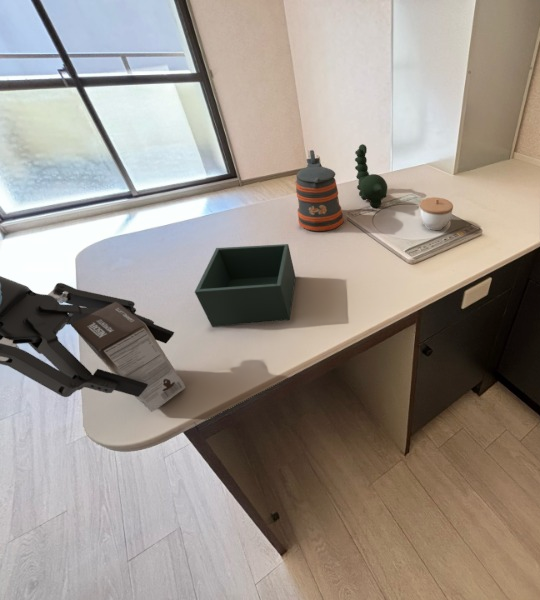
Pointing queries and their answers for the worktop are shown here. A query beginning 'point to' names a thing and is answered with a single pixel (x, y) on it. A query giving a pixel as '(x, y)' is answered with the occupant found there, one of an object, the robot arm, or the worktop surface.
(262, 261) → the waste bin
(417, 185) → the worktop surface
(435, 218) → the trinket box
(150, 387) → the coffee box
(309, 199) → the beer stein
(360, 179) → the toy figurine
